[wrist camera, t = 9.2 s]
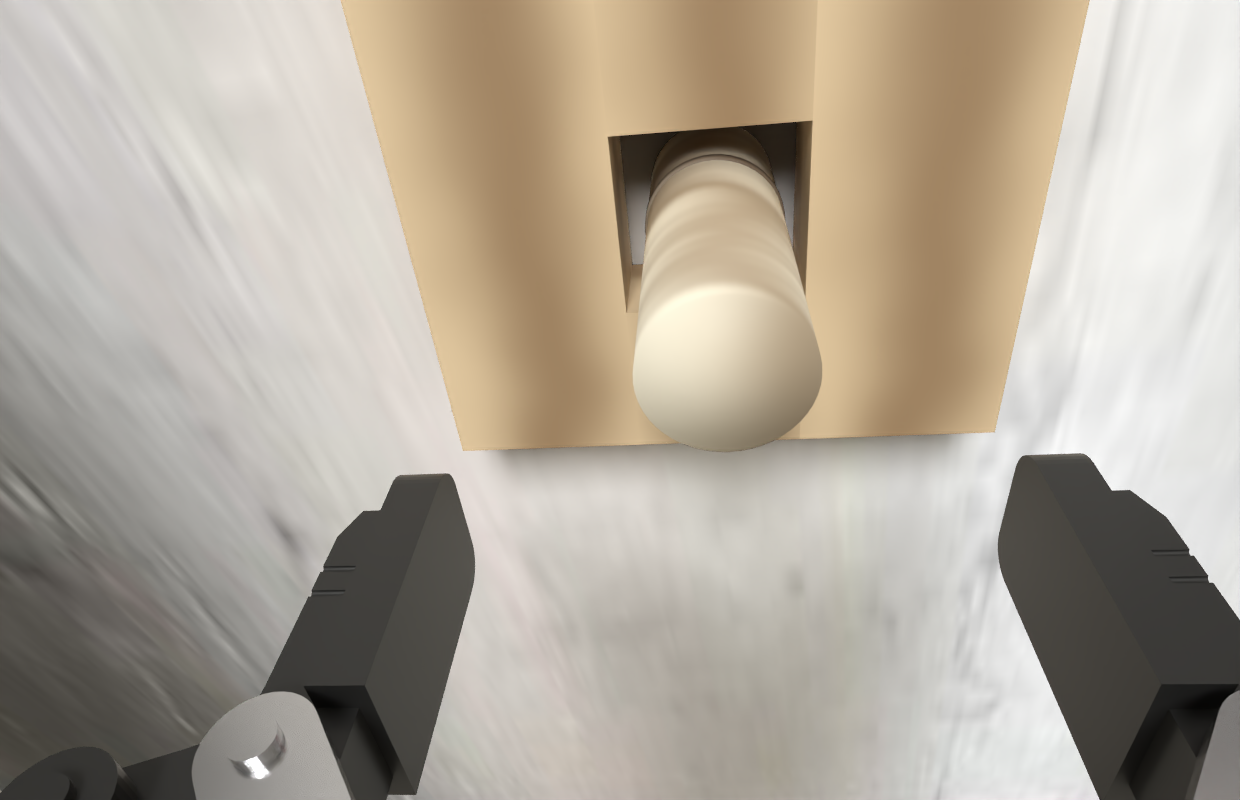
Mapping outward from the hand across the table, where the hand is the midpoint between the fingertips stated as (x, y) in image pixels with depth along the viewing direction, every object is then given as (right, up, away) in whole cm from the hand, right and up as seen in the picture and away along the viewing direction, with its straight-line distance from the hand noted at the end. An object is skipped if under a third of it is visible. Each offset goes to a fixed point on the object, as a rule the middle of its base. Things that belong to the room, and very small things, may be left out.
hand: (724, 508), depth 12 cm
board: (+1, +8, +11) cm, 13 cm away
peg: (+1, +8, +11) cm, 13 cm away
